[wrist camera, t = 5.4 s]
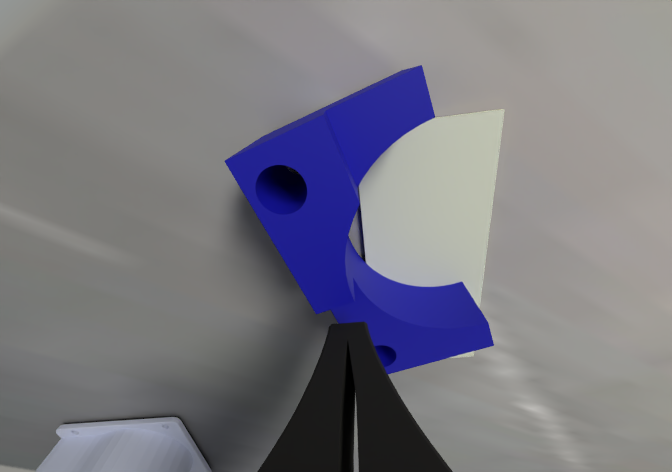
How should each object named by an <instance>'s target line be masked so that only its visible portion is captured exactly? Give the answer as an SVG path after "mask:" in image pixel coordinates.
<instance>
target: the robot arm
mask: <svg viewBox="0 0 672 472" xmlns="http://www.w3.org/2000/svg"><path fill="white" fill-rule="evenodd" d="M355 392H356V402H357V428H358V457H359V472H452V470H451V469H450V468H449V466H448V465H447V464H446V462H445V461H444V460H443V458H442V457H441V456H440V454H439V453H438V452H437V451H436V449H435V448H434V447H433V445H432V444H431V443H430V441H429V440H428V438H427V437H426V436H425V434H424V433H423V431H422V430H421V428H420V427H419V426H418V424H417V423H416V421H415V420H414V418H413V417H412V415H411V413H410V412H409V410H408V409H407V407H406V406H405V404H404V402H403V401H402V399H401V397H400V396H399V394H398V392H397V391H396V389H395V387H394V385H393V384H392V382H391V380H390V378H389V376H388V374H387V372H386V370H385V368H384V366H383V364H382V362H381V360H380V358H379V356H378V354H377V352H376V349H375V347H374V344H373V342H372V339H371V336H370V333H369V329H368V325H367V323H366V322H364V321H363V322H352V323H341V324H332V325H331V326H329V330H328V334H327V338H326V341H325V344H324V347H323V350H322V353H321V355H320V358H319V360H318V363H317V365H316V368H315V370H314V373H313V375H312V377H311V380H310V382H309V384H308V386H307V388H306V390H305V392H304V394H303V396H302V399H301V400H300V402H299V404H298V406H297V408H296V410H295V412H294V414H293V416H292V417H291V419H290V421H289V423H288V424H287V426H286V428H285V430H284V431H283V433H282V435H281V436H280V438H279V439H278V441H277V443H276V444H275V446H274V448H273V449H272V451H271V452H270V454H269V455H268V457H267V458H266V460H265V461H264V463H263V464H262V466H261V467H260V469H259V470H258V472H354V463H353V454H354V416H355ZM56 433H57V434H58V435H59V436H60V437H61V439H60V441H59V442H58V443H57V444H56V446H55V447H54V448H53V449H52V451H51V452H50V453H49V454H48V456H47V457H46V458H45V459H44V461H43V462H42V463H41V464H40V466H39V467H38V468H37V470H36V471H35V472H212V470H211V469H210V467H209V465H208V464H207V462H206V461H205V459H204V457H203V456H202V454H201V452H200V451H199V449H198V448H197V446H196V444H195V443H194V441H193V439H192V438H191V436H190V434H189V433H188V431H187V430H186V428H185V426H184V425H183V423H182V421H181V420H180V419H179V418H177V417H163V418H149V419H134V420H119V421H105V422H90V423H76V424H63V425H60V426H59V427H58V429H57V430H56Z"/></svg>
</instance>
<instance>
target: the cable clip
mask: <svg viewBox="0 0 672 472" xmlns="http://www.w3.org/2000/svg"><path fill="white" fill-rule="evenodd" d="M433 118H435V115H434V111H433V107H432V103H431V99H430V95H429V91H428V88H427V84H426V80H425V76H424V72H423V68H422V65H421V66H417V67H413V68H409V69H406V70H402V71H400V72H398V73H396V74H393V75H391V76H389V77H387V78H385V79H383V80H381V81H379V82H377V83H374V84H372V85H370V86H368V87H366V88H364V89H362V90H360V91H358V92H356V93H353V94H351V95H349V96H347V97H345V98H343V99H341V100H339V101H337V102H334V103H332V104H330V105H328V106H326V107H324V108H322V109H320V110H318V111H315V112H313V113H311V114H309V115H307V116H305V117H303V118H301V119H299V120H297V121H294V122H292V123H290V124H288V125H286V126H284V127H282V128H280V129H278V130H275V131H273V132H271V133H269V134H267V135H265V136H263V137H261V138H260V139H258V140H257V141H255V142H253V143H252V144H250V145H249V146H247V147H246V148H244V149H242V150H241V151H239V152H238V153H236V154H235V155H233V156H232V157H230V158H228V159H227V160H225V163H226V165H227V166H228V168H229V170H230V171H231V173H232V175H233V176H234V178H235V180H236V181H237V183H238V185H239V186H240V188H241V190H242V191H243V193H244V195H245V196H246V198H247V200H248V201H249V203H250V205H251V206H252V208H253V210H254V211H255V213H256V215H257V216H258V218H259V220H260V221H261V223H262V225H263V226H264V228H265V230H266V231H267V233H268V235H269V236H270V238H271V240H272V241H273V243H274V245H275V246H276V248H277V250H278V251H279V253H280V255H281V256H282V258H283V260H284V261H285V263H286V265H287V266H288V268H289V270H290V271H291V273H292V275H293V276H294V278H295V280H296V281H297V283H298V285H299V286H300V288H301V290H302V291H303V293H304V295H305V296H306V298H307V300H308V301H309V303H310V305H311V306H312V308H313V310H314V311H315V313H316V314H319V313H322V312H325V311H328V310H331V311H332V313H333V315H334V316H335V318H336V320H337V322H338V323H339V324H341V323H352V322H363V321H364V322H366V323H367V325H368V329H369V333H370V336H371V339H372V342H373V344H374V347H375V349H376V352H377V354H378V356H379V358H380V360H381V362H382V364H383V366H384V368H385V370H386V372H387V374H391V373H394V372H398V371H402V370H405V369H409V368H413V367H416V366H420V365H424V364H427V363H431V362H435V361H439V360H442V359H446V358H450V357H453V356H457V355H461V354H464V353H468V352H472V351H475V350H479V349H483V348H487V347H490V346H494V344H493V340H492V336H491V332H490V328H489V324H488V322H487V320H486V319H485V317H484V315H483V314H482V312H481V311H480V309H479V307H478V306H477V304H476V303H475V301H474V299H473V298H472V296H471V295H470V293H469V292H468V290H467V288H466V287H465V285H464V284H463V282H458V283H454V284H450V285H445V286H436V287H420V286H412V285H406V284H402V283H399V282H396V281H393V280H390V279H388V278H386V277H384V276H382V275H381V274H379V273H378V272H376V271H375V270H373V269H372V268H371V267H370V266H368V265H367V264H366V263H365V262H364V261H363V260H362V258H361V257H360V256H359V255H358V253H357V252H356V250H355V249H354V247H353V245H352V243H351V241H350V239H349V236H348V234H349V230H350V227H351V224H352V221H353V218H354V216H355V214H356V211H357V209H358V207H359V205H360V200H359V195H358V189H357V188H358V186H359V184H360V182H361V181H362V179H363V177H364V176H365V175H366V173H367V172H368V170H369V169H370V167H371V166H372V165H373V164H374V163H375V161H376V160H377V159H378V158H379V157H380V156H381V155H382V154H383V153H384V152H385V151H386V150H387V149H388V148H389V147H390V146H391V145H392V144H393V143H395V142H396V141H397V140H398V139H400V138H401V137H402V136H404V135H405V134H406V133H408V132H410V131H411V130H413V129H414V128H416V127H418V126H419V125H421V124H423V123H425V122H427V121H429V120H431V119H433ZM286 166H288V167H291V168H293V169H294V170H296V171H297V172H298V173H299V174H300V175H298V174H295V173H293V172H291V171H290V170H288V168H287V167H286Z"/></svg>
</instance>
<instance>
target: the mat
mask: <svg viewBox="0 0 672 472" xmlns="http://www.w3.org/2000/svg"><path fill="white" fill-rule="evenodd" d="M503 118H504V109H497V110H490V111H482V112H475V113H467V114H460V115H452V116H445V117H437V118H433V119H431V120H429V121H427V122H425V123H423V124H421V125H419V126H418V127H416V128H414V129H413V130H411V131H410V132H408V133H406V134H405V135H404V136H402V137H401V138H400V139H398V140H397V141H396V142H395V143H393V144H392V145H391V146H390V147H389V148H388V149H387V150H386V151H385V152H384V153H383V154H382V155H381V156H380V157H379V158H378V159H377V160H376V161H375V163H374V164H373V165H372V166H371V167H370V169H369V170H368V172H367V173H366V175H365V176H364V177H363V179H362V181H361V182H360V184H359V195H360V206H361V216H362V227H363V238H364V248H365V259H366V264H367V265H368V266H370V267H371V268H372V269H373V270H375V271H376V272H378V273H379V274H381V275H382V276H384V277H386V278H388V279H390V280H393V281H396V282H399V283H402V284H406V285H412V286H420V287H436V286H445V285H450V284H454V283H458V282H463V284H464V285H465V287H466V288H467V290H468V292H469V293H470V295H471V296H472V298H473V299H474V301H475V303H476V304H477V306H478V307H479V309H480V301H481V293H482V285H483V277H484V269H485V261H486V253H487V246H488V238H489V230H490V222H491V214H492V206H493V198H494V190H495V182H496V174H497V166H498V158H499V150H500V142H501V134H502V126H503ZM471 356H474V351H472V352H468V353H464V354H461V355H457V356H453V357H450V358H458V357H471Z"/></svg>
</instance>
